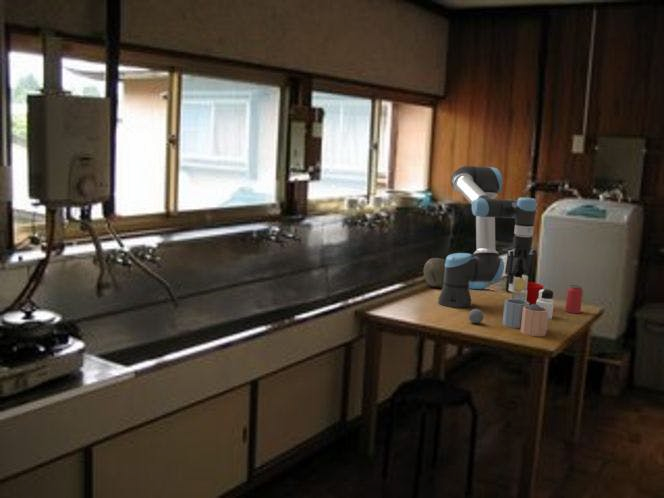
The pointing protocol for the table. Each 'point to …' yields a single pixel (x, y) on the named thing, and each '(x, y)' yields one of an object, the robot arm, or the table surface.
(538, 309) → the charcoal ball
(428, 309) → the table surface
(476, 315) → the charcoal ball
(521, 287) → the ochre ball
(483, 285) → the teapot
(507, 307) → the slate tube
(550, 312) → the medicine bottle
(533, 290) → the ceramic cup
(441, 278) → the grey stone sphere
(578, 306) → the beer can
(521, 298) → the supplement bottle
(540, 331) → the terracotta tube
